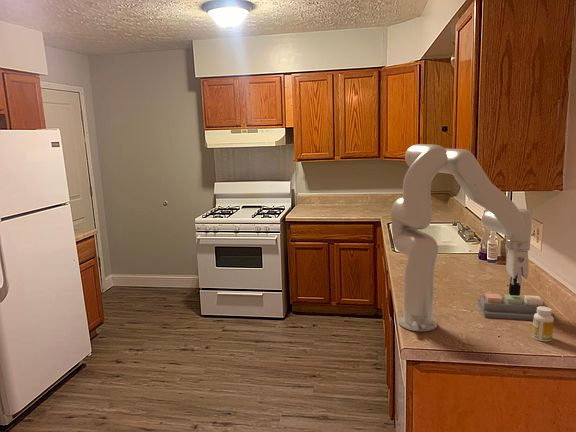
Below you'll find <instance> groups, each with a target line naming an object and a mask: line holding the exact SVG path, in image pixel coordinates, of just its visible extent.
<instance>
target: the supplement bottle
mask: <svg viewBox="0 0 576 432" xmlns="http://www.w3.org/2000/svg"><path fill="white" fill-rule="evenodd" d="M552 312H553V308H550V307H549V306H548V307H544V306H539V307H537V313H536V314H534V319H533V320H532V331H531V332H532V335H531V336H532V338H533V339H534V340H537V341H539V342H546V343H547V342H551V341H552V340H553V334H554V320H555V318H554V317H553V315H552Z"/></svg>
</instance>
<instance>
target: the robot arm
mask: <svg viewBox="0 0 576 432" xmlns="http://www.w3.org/2000/svg"><path fill="white" fill-rule="evenodd" d="M404 161H405V163H406V165H407V166H408V167H409V168H408V169H407V171H406V173H405V174H404V177H403V182H402V197H399V198H398V199H396V200H395V201H394V202H393V204H392V207H391V210H390V219H391V220H390V221H391V232H392V233H391V234H392V242H393V245H394V248H395V249H396V251H398V252H399V253H400V254H401V255H404V256H405V257H407V261H406V264H405V267H404V272H403V273H404V274H403V307H402V308H403V309H402V310H403V311H402V312H403V314H402V315H400V316H398V320H397V321H398V324H399V326H401V327H402V328H404V329H405V330H408V331H413V332H423V333H424V332H430V331H434V330H435V329H436V328H438V320H436V318H434V317H433V316H434V315H433V314H434V312H433V311H434V289H435V287H434V285H435V270H436V263H437V258H438V254H439V246H438V243H437V241H436V239H435V238H434V237H433V236H431V235H430V234H427V233H425V232H423V231H421V230H425V229H427V228H428V227H429V226H430V225H431V223H432V220H433V219H432V218H433V209H432V195H431V194H432V193H431V192H432V191H431V187H432V182H433V179H434V178H435V176H436V175H437V174H438V173H440V174H441V173H442V174H449V175H452V176H453V177H454V179H455V180H456V182H457V183H458V185H459V186H460V188H461V189H462V190H463V192H464V194H465V195H466V197H467V198H469V199H470V201H472V202H474V203H476V204H477V205H479V206H481V207H483V208H484V209H486V210H487V211H485V213H484V214H483V215H482V218H481V223H482V225H483V227H484V228H485V229H487V230H489V231H493V232H496V233H499V234H501V235H505V249H506V250H507V251H506V252H507V254H506V266H505V267H506V268H505V269H506V272H507V273H508V275H509V283H508V284H509V287H508V294H509V295H511V296H520V295H521V285H522V283H523V282H522V279H524V280H528V278H529V251H530V250H531V237H532V223H533V222H532V221H533V213H532V211H530V210H529V209H525V208H518V207H517V206H516V204H515V203H514V201H513V200H511V198H510V197H508V195H506V194H505V193H504V192H503V191H502V190H501V189H500V188H498V187H497V186H496V185H495V184H493V182H492V181H491V179H490V178H489V177H488V175H487V174H486V173H485V171H484V170H483V168H482V165H480V163H479V162H478V159H476V157H475V155H474V154H473V153H472V151H470V150H468V149H463V148H447V147H444V146H443V145H439V144H431V143H427V144H426V143H425V144H424V143H416V144H413V145H412V144H411V146H410V147H409V148H407V150H406V152H405V154H404ZM520 297H521V296H520Z"/></svg>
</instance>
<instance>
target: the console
mask: <svg viewBox="0 0 576 432" xmlns="http://www.w3.org/2000/svg"><path fill="white" fill-rule="evenodd" d="M501 298H502V303H487V302H486V300H485V295H480V296H479V299H477V301H476V302H477V305H478V308H479V310H480V312H481V313H482V315H483V317H484V318H492V319H504V320H505V319H506V320H507V319H508V320H522V321H533V319H534V314H536V313H537V307H539V306H540V305H527V304H526V303H525V301H524V297H521V299H522V304H507V303H506V302H505V300H504V298H505V296H501ZM543 306H544V307H548V308H549V306H548V305H547V304H546V303H545V302H544V301H543Z"/></svg>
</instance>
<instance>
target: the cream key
mask: <svg viewBox="0 0 576 432" xmlns="http://www.w3.org/2000/svg"><path fill="white" fill-rule="evenodd" d="M523 296H524V297H523V298H524V301H525V303H526V304H527V305H540V306H543V302H544V300H543V299H542V297H540V296H539V295H529V294H528V295H525V294H524V295H523Z"/></svg>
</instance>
